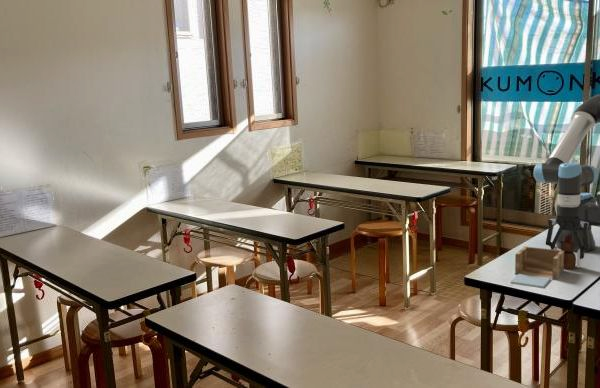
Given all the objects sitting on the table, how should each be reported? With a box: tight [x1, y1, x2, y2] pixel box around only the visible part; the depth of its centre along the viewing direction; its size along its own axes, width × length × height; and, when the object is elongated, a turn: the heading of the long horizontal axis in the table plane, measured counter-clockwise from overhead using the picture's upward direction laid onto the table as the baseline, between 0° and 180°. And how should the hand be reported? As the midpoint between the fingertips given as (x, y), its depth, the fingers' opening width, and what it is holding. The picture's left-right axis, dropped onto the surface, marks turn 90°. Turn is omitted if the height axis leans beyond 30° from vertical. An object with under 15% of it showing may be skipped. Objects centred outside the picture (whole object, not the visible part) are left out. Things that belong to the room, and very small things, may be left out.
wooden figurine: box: [560, 233, 577, 270], centre depth 219 cm, size 7×6×15 cm
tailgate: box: [510, 274, 552, 289], centre depth 206 cm, size 1×11×10 cm
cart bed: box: [514, 246, 565, 281], centre depth 215 cm, size 13×14×9 cm
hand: (566, 265), depth 220 cm, fingers open, 8 cm apart
